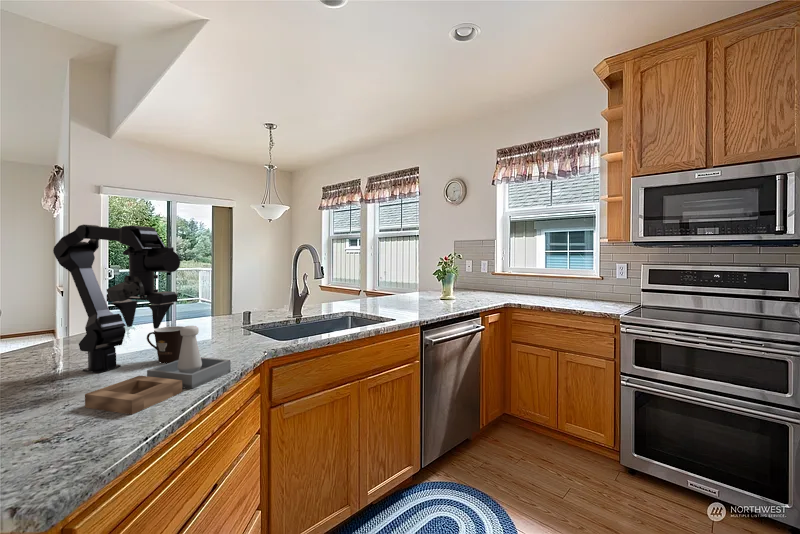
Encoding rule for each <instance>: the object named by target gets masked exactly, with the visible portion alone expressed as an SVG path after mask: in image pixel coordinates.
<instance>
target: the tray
mask: <svg viewBox="0 0 800 534" xmlns="http://www.w3.org/2000/svg"><path fill="white" fill-rule="evenodd" d="M200 357H201V361H202V366H201V368H200V370H199V371H197V372H195V373H192V374H191V373H181V372H179V370H178V367H177V366H178V360H177V361H174V362H171V363H167V364H162V365H159V366H155V367H153V368H151V369H147V370H146V376H149V377H158V378H167V379H175V380H182V389H190V390H193V389H196V388H197V387H200V386H202V385H204V384H207V383H209V382H211V381H214V380H216V379H219V378H220V377H223V376H225V375H227V374H229V373H231V367H232V366H231V359H227V358H226V359H222V358H213V357H205V356H200Z"/></svg>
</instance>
